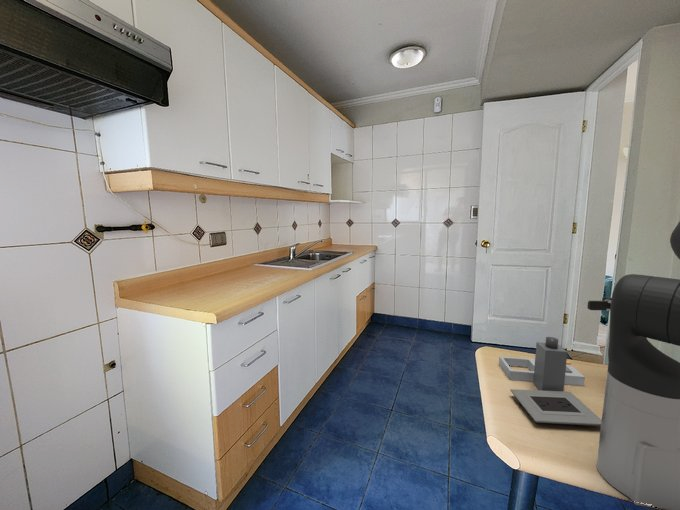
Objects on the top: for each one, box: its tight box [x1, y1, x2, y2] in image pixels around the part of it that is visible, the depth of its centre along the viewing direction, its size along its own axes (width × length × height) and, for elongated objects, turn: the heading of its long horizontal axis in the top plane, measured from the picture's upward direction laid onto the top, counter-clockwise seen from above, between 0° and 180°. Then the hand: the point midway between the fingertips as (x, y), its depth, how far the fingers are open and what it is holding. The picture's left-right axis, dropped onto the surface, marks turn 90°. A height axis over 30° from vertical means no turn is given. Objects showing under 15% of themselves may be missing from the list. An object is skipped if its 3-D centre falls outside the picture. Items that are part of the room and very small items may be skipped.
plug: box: [532, 336, 568, 392], centre depth 70 cm, size 4×4×13 cm
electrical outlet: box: [510, 388, 602, 427], centre depth 62 cm, size 13×10×2 cm
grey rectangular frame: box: [498, 355, 586, 387], centre depth 77 cm, size 8×17×3 cm, turn 79°
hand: (601, 311), depth 66 cm, fingers open, 8 cm apart
